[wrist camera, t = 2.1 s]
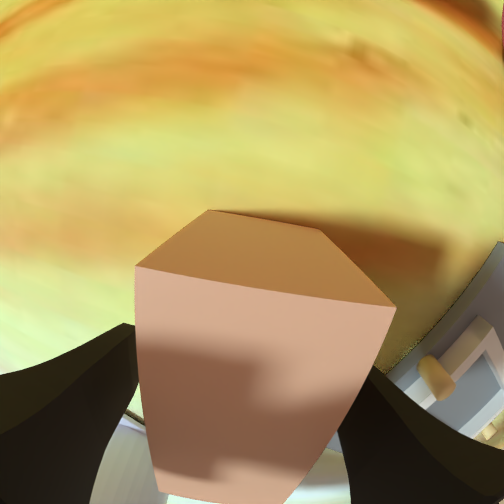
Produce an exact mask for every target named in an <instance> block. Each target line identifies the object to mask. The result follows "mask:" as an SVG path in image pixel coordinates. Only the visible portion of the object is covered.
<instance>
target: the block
mask: <svg viewBox="0 0 504 504" xmlns="http://www.w3.org/2000/svg"><path fill="white" fill-rule="evenodd" d="M396 309H397V307H396V306H395V305H394V304H393V303H392V302H391V301H390V300H389V299H388V297H387V296H386V295H385V294H384V293H383V292H382V291H381V290H380V289H379V288H378V287H377V286H376V285H375V284H374V283H373V282H372V281H371V280H370V279H369V278H368V277H367V276H366V275H365V274H364V273H363V272H362V271H361V270H360V269H359V268H358V267H357V266H356V265H355V264H354V263H353V262H352V261H351V260H350V259H349V258H348V257H347V256H346V255H345V254H344V253H343V252H342V251H341V250H340V249H339V248H338V247H337V246H336V245H335V244H334V243H333V242H332V241H331V240H330V239H329V238H328V237H327V236H326V235H325V234H324V233H323V232H322V231H320V230H319V229H316V228H310V227H305V226H300V225H294V224H289V223H284V222H278V221H272V220H267V219H261V218H255V217H249V216H244V215H238V214H232V213H225V212H219V211H213V210H207V211H206V212H204V213H203V214H201V215H200V216H199V217H197V218H196V219H195V220H193V221H192V222H191V223H189V224H188V225H187V226H185V227H184V228H183V229H181V230H180V231H179V232H177V233H176V234H175V235H173V236H172V237H171V238H170V239H168V240H167V241H166V242H164V243H163V244H162V245H161V246H159V247H158V248H157V249H155V250H154V251H153V252H152V253H150V254H149V255H148V256H147V257H145V258H144V259H143V260H142V261H140V262H139V263H138V264H137V265H135V331H136V349H137V363H138V374H139V384H140V393H141V401H142V409H143V416H144V422H145V428H146V434H147V440H148V445H149V450H150V455H151V460H152V465H153V469H154V474H155V478H156V482H157V486H158V490H159V492H163V493H167V494H171V495H176V496H180V497H185V498H190V499H195V500H201V501H207V502H213V503H221V504H283V503H284V502H285V501H286V500H287V498H288V497H289V496H290V495H291V494H292V492H293V491H294V490H295V489H296V487H297V486H298V485H299V484H300V482H301V481H302V480H303V479H304V477H305V476H306V475H307V473H308V472H309V471H310V469H311V468H312V466H313V465H314V464H315V462H316V461H317V459H318V458H319V457H320V455H321V454H322V452H323V451H324V449H325V448H326V446H327V445H328V443H329V442H330V440H331V439H332V437H333V436H334V434H335V432H336V431H337V429H338V428H339V426H340V424H341V423H342V421H343V419H344V418H345V416H346V414H347V413H348V411H349V409H350V407H351V406H352V404H353V402H354V400H355V398H356V397H357V395H358V393H359V391H360V389H361V387H362V385H363V383H364V381H365V379H366V377H367V375H368V373H369V371H370V369H371V367H372V365H373V363H374V361H375V359H376V357H377V355H378V352H379V350H380V348H381V346H382V343H383V341H384V339H385V336H386V334H387V332H388V329H389V327H390V324H391V322H392V319H393V317H394V314H395V312H396Z"/></svg>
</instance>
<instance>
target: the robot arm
mask: <svg viewBox="0 0 504 504" xmlns="http://www.w3.org/2000/svg"><path fill="white" fill-rule="evenodd" d="M138 383H139V374H138V363H137V349H136V331H135V326H134V325H130V324H126V323H122V324H120V325H118V326H116V327H114V328H112V329H111V330H109V331H107V332H105V333H103V334H102V335H100V336H98V337H96V338H94V339H92V340H90V341H88V342H87V343H85V344H83V345H81V346H79V347H77V348H75V349H73V350H71V351H69V352H66V353H64V354H62V355H60V356H58V357H56V358H53V359H51V360H49V361H46V362H44V363H41V364H38V365H35V366H32V367H29V368H26V369H23V370H19V371H15V372H11V373H6V374H2V375H0V504H166V503H167V499H168V495H169V494H167V493H163V492H159V490H158V486H157V482H156V478H155V474H154V469H153V465H152V460H151V455H150V450H149V445H148V440H147V434H146V428H145V426H144V425H142V424H140V423H139V422H137V421H135V420H134V419H132V418H131V417H129V416H127V415H126V414H124V413H125V411H126V409H127V407H128V405H129V403H130V401H131V399H132V398H133V396H134V393H135V391H136V388H137V385H138ZM337 433H338V437H339V441H340V445H341V449H342V453H343V457H344V461H345V465H346V469H347V473H348V478H349V484H350V495H351V504H499V502H500V501H501V500H503V499H504V450H501V449H498V448H495V447H492V446H489V445H486V444H483V443H481V442H478V441H476V440H474V439H472V438H470V437H468V436H466V435H463V434H461V433H460V432H458V431H456V430H454V429H452V428H451V427H449V426H448V425H446V424H445V423H443V422H441V421H440V420H438V419H437V418H435V417H434V416H433V415H431V414H430V413H429V412H427V411H426V410H425V409H423V408H422V407H421V406H420V405H418V404H417V403H416V402H415V401H413V400H412V399H411V398H410V397H409V396H408V395H406V394H405V393H404V392H403V391H402V390H401V389H400V388H398V387H397V386H396V385H395V384H394V383H393V382H392V381H391V380H390V379H388V378H387V377H386V376H385V375H384V374H383V373H382V372H381V371H379V370H378V369H377V368H376V367H375V366H374V365H372V367H371V369H370V371H369V373H368V375H367V377H366V379H365V381H364V383H363V385H362V387H361V389H360V391H359V393H358V395H357V397H356V398H355V400H354V402H353V404H352V406H351V407H350V409H349V411H348V413H347V414H346V416H345V418H344V419H343V421H342V423H341V424H340V426H339V428H338V429H337Z"/></svg>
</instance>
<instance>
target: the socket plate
mask: <svg viewBox="0 0 504 504" xmlns="http://www.w3.org/2000/svg"><path fill="white" fill-rule="evenodd" d="M385 376H386V377H387V378H388V379H390V380H391V381H392V382H393V383H394V384H395V385H396V386H397V387H398V388H400V389H401V390H402V391H403V392H404V393H405V394H406V395H408V396H409V397H410V398H411V399H412V400H413V401H415V402H416V403H417V404H418V405H420V406H421V407H422V408H423V409H425V410H426V411H427V412H429V413H430V414H431V415H433V416H434V417H435V418H437V419H438V420H440V421H441V422H443V423H445V424H446V425H448V426H449V427H451V428H452V429H454V430H456V431H458V432H460V433H461V434H463V435H466V436H468V437H470V438H472V439H473V438H474V437H476V436H477V435H478V434H479V433H480V432H482V434H483V436H484V437H485V439H486V440H489V439H490V438H491V437H493V436H494V435H495V433H496V432H497V430H496V428H495V427H494V425H493V424H492V423H491V422H492V421H493V420H494V419H495V418H496V417H497V416H498V415H499V414H500V413H501V412H502V411H503V409H504V243H501V242H499V241H498V243H497V245H496V246H495V248H494V250H493V251H492V253H491V254H490V256H489V257H488V259H487V260H486V262H485V263H484V265H483V266H482V268H481V269H480V271H479V272H478V273H477V275H476V276H475V278H474V279H473V280H472V282H471V283H470V284H469V286H468V287H467V288H466V290H465V291H464V292H463V293H462V295H461V296H460V297H459V299H458V300H457V301H456V302H455V303H454V305H453V306H452V307H451V308H450V310H449V311H448V312H447V313H446V314H445V315H444V317H443V318H442V319H441V320H440V321H439V322H438V323H437V325H436V326H435V327H434V328H433V329H432V330H431V331H430V332H429V333H428V334H427V335H426V336H425V337H424V339H423V340H422V341H421V342H420V343H419V344H418V345H417V346H416V347H415V348H414V349H413V350H412V351H411V352H410V353H409V354H408V355H407V356H406V357H405V358H403V359H402V360H401V361H400V362H399V363H398V364H397V365H396V366H395V367H394V368H393V369H392V370H391V371H389V372H388V373H387V374H386V375H385ZM326 448H329V449H332V450H334V451H337V452H340V453H342V449H341V445H340V441H339V437H338V433H337V431H336V432H335V434H334V436H333V437H332V439H331V440H330V442H329V443H328V445H327V446H326Z"/></svg>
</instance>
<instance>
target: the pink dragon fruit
mask: <svg viewBox="0 0 504 504" xmlns="http://www.w3.org/2000/svg"><path fill="white" fill-rule="evenodd" d="M502 41H503V47H504V5H503V12H502Z"/></svg>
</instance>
